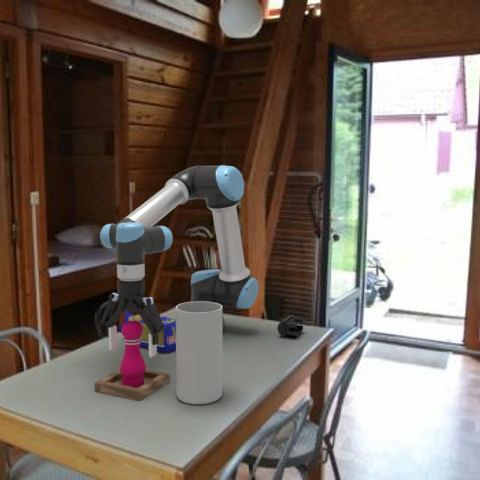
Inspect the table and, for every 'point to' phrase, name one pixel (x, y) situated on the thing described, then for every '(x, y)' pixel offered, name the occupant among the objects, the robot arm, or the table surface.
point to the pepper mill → (132, 354)
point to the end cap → (290, 327)
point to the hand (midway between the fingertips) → (132, 352)
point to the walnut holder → (115, 387)
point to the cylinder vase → (199, 352)
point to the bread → (165, 337)
